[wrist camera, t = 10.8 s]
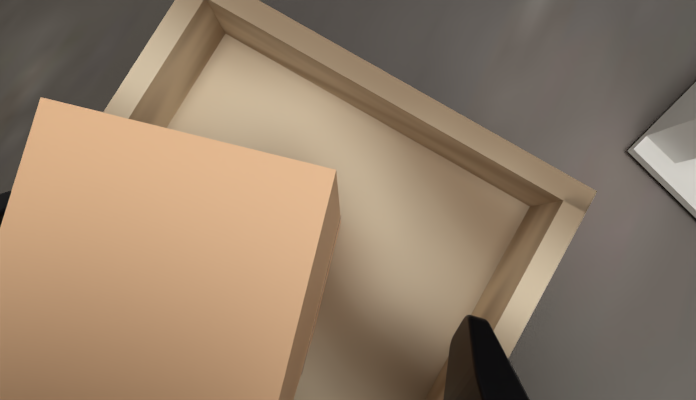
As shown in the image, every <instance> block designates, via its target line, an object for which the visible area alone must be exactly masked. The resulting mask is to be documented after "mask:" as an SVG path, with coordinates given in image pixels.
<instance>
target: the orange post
mask: <svg viewBox="0 0 696 400" xmlns="http://www.w3.org/2000/svg"><path fill="white" fill-rule="evenodd" d="M340 224H341V215H340V206H339V195H338V184H337V172H336V170H335V169H331V168H327V167H323V166H319V165H315V164H311V163H307V162H303V161H299V160H295V159H290V158H286V157H282V156H278V155H274V154H270V153H266V152H262V151H258V150H254V149H250V148H246V147H242V146H238V145H233V144H229V143H225V142H221V141H217V140H213V139H209V138H205V137H201V136H197V135H193V134H189V133H185V132H180V131H176V130H172V129H168V128H164V127H160V126H156V125H152V124H148V123H144V122H140V121H136V120H132V119H127V118H123V117H119V116H115V115H111V114H107V113H103V112H99V111H95V110H91V109H87V108H83V107H79V106H74V105H70V104H66V103H62V102H58V101H54V100H50V99H46V98H42V97H41V98H40V101H39V105H38V108H37V111H36V114H35V117H34V121H33V124H32V127H31V130H30V134H29V137H28V140H27V143H26V146H25V150H24V153H23V156H22V159H21V162H20V166H19V169H18V172H17V175H16V178H15V182H14V185H13V188H12V191H11V195H10V198H9V201H8V204H7V207H6V211H5V214H4V217H3V220H2V223H1V227H0V400H293V399H294V396H295V393H296V390H297V386H298V383H299V380H300V377H301V375H302V373H303V369H304V365H305V361H306V357H307V354H308V351H309V347H310V344H311V341H312V337H313V333H314V329H315V325H316V321H317V317H318V313H319V309H320V304H321V300H322V296H323V292H324V288H325V284H326V280H327V276H328V272H329V268H330V264H331V260H332V256H333V252H334V248H335V244H336V240H337V236H338V232H339V228H340Z"/></svg>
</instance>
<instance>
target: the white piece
mask: <svg viewBox="0 0 696 400" xmlns="http://www.w3.org/2000/svg"><path fill="white" fill-rule="evenodd" d="M628 152H629V153H630V154H631V155H632V156H633V157H634V158H635V159H636V160H637V161H638V162H639V163H640V164H641V165H642V166H643V167H644V168H645V169H646V170H647V171H648V172H649V173H650V174H651V175H652V176H653V177H654V178H655V179H656V180H657V181H658V182H659V183H660V184H661V185H662V186H663V187H664V188H665V189H666V190H667V191H668V192H669V193H671V194H672V195H673V196H674V197H675V198H676V199H677V200H678V201H679V202H680V203H681V204H682V205H683V206H684V207H685V208H686V209H687V210H688V211H689V212H690V213H691V214H692V215H693V216H694V217H695V218H696V82H695V83H694V84H693V85H692V86H691V87H690V88H689V89H688V90H687V91H686V92H685V93H684V94H683V95H682V96H681V97H680V98H679V99H678V100H677V101H676V102H675V103H674V104H673V105H672V106H671V107H670V108H669V109H668V110H667V111H666V112H665V113H664V114H663V115H662V116H661V117H660V118H659V119H658V120H657V121H656V122H655V123H654V124H653V125H652V126H651V127H650V128H649V129H648V130H647V131H646V132H645V133H644V134H643V135H642V136H641V137H640V138H639V139H638V140H637V141H636V142H635V143H634V144H633V145H632V147H631V148H630V149H629V150H628Z"/></svg>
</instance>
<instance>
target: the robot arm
mask: <svg viewBox="0 0 696 400" xmlns="http://www.w3.org/2000/svg"><path fill="white" fill-rule="evenodd" d="M10 195H11V191H8V192H5V193H2V194H0V227H1V223H2V220H3V217H4V214H5V211H6V207H7V204H8V201H9V198H10ZM443 400H530V399H529V397H528V396H527V394H526V392H525V390H524V388H523V386H522V384H521V382H520V380H519V378H518V377H517V375H516V373H515V371H514V369H513V367H512V365H511V363H510V361H509V359H508V358H507V356H506V354H505V352H504V350H503V348H502V346H501V344H500V342H499V340H498V339H497V337H496V335H495V333H494V331H493V329H492V327H491V325H490V323H489V322H488V321H487V320H486V319H484V318H481V317H477V316H473V315H466V316H465V317H464V318H463V320H462V322H461V323H460V325H459V327H458V328H457V330H456V332H455V333H454V335H453V337H452V339H451V343H450V348H449V357H448V365H447V373H446V382H445V390H444V398H443Z"/></svg>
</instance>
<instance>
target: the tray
mask: <svg viewBox="0 0 696 400" xmlns="http://www.w3.org/2000/svg"><path fill="white" fill-rule="evenodd" d="M103 113H107V114H111V115H115V116H119V117H123V118H127V119H132V120H136V121H140V122H144V123H148V124H152V125H156V126H160V127H164V128H168V129H172V130H176V131H180V132H185V133H189V134H193V135H197V136H201V137H205V138H209V139H213V140H217V141H221V142H225V143H229V144H233V145H238V146H242V147H246V148H250V149H254V150H258V151H262V152H266V153H270V154H274V155H278V156H282V157H286V158H290V159H295V160H299V161H303V162H307V163H311V164H315V165H319V166H323V167H327V168H331V169H335V170H336V172H337V184H338V195H339V206H340V215H341V224H340V228H339V232H338V236H337V240H336V244H335V248H334V252H333V256H332V260H331V264H330V268H329V272H328V276H327V280H326V284H325V288H324V292H323V296H322V300H321V304H320V309H319V313H318V317H317V321H316V325H315V329H314V333H313V337H312V341H311V344H310V347H309V351H308V354H307V357H306V361H305V365H304V369H303V373H302V375H301V377H300V380H299V383H298V386H297V390H296V393H295V396H294V399H293V400H443V398H444V390H445V382H446V373H447V365H448V357H449V348H450V343H451V339H452V337H453V335H454V333H455V332H456V330H457V328H458V327H459V325H460V323H461V322H462V320H463V318H464V317H465V316H466V315H473V316H477V317H481V318H484V319H486V320H487V321H488V322H489V323H490V325H491V327H492V329H493V331H494V333H495V335H496V337H497V339H498V340H499V342H500V344H501V346H502V348H503V350H504V352H505V354H506V356H507V358H509V356H510V354H511V352H512V351H513V349H514V347H515V345H516V343H517V341H518V339H519V337H520V335H521V334H522V332H523V330H524V328H525V326H526V324H527V322H528V320H529V319H530V317H531V315H532V313H533V311H534V309H535V307H536V305H537V303H538V302H539V300H540V298H541V296H542V294H543V292H544V290H545V288H546V287H547V285H548V283H549V281H550V279H551V277H552V275H553V273H554V271H555V270H556V268H557V266H558V264H559V262H560V260H561V258H562V256H563V255H564V253H565V251H566V249H567V247H568V245H569V243H570V241H571V240H572V238H573V236H574V234H575V232H576V230H577V228H578V226H579V224H580V223H581V221H582V219H583V217H584V215H585V213H586V211H587V209H588V208H589V206H590V204H591V202H592V200H593V198H594V196H595V194H596V192H597V191H595V190H594V189H592V188H590V187H588V186H587V185H585V184H583V183H581V182H579V181H578V180H576V179H574V178H572V177H571V176H569V175H567V174H565V173H564V172H562V171H560V170H558V169H556V168H555V167H553V166H551V165H549V164H548V163H546V162H544V161H542V160H540V159H539V158H537V157H535V156H533V155H532V154H530V153H528V152H526V151H525V150H523V149H521V148H519V147H517V146H516V145H514V144H512V143H510V142H509V141H507V140H505V139H503V138H501V137H500V136H498V135H496V134H494V133H493V132H491V131H489V130H487V129H486V128H484V127H482V126H480V125H478V124H477V123H475V122H473V121H471V120H470V119H468V118H466V117H464V116H463V115H461V114H459V113H457V112H455V111H454V110H452V109H450V108H448V107H447V106H445V105H443V104H441V103H439V102H438V101H436V100H434V99H432V98H431V97H429V96H427V95H425V94H424V93H422V92H420V91H418V90H416V89H415V88H413V87H411V86H409V85H408V84H406V83H404V82H402V81H401V80H399V79H397V78H395V77H393V76H392V75H390V74H388V73H386V72H385V71H383V70H381V69H379V68H377V67H376V66H374V65H372V64H370V63H369V62H367V61H365V60H363V59H362V58H360V57H358V56H356V55H354V54H353V53H351V52H349V51H347V50H346V49H344V48H342V47H340V46H338V45H337V44H335V43H333V42H331V41H330V40H328V39H326V38H324V37H323V36H321V35H319V34H317V33H315V32H314V31H312V30H310V29H308V28H307V27H305V26H303V25H301V24H300V23H298V22H296V21H294V20H292V19H291V18H289V17H287V16H285V15H284V14H282V13H280V12H278V11H276V10H275V9H273V8H271V7H269V6H268V5H266V4H264V3H262V2H261V1H259V0H175V1H174V3H173V4H172V6H171V7H170V9H169V10H168V12H167V14H166V15H165V17H164V18H163V20H162V21H161V23H160V25H159V26H158V28H157V29H156V31H155V32H154V34H153V36H152V37H151V39H150V40H149V42H148V43H147V45H146V46H145V48H144V50H143V51H142V53H141V54H140V56H139V57H138V59H137V61H136V62H135V64H134V65H133V67H132V68H131V70H130V71H129V73H128V75H127V76H126V78H125V79H124V81H123V82H122V84H121V86H120V87H119V89H118V90H117V92H116V93H115V95H114V96H113V98H112V100H111V101H110V103H109V104H108V106H107V107H106V109H105V111H104V112H103Z"/></svg>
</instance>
